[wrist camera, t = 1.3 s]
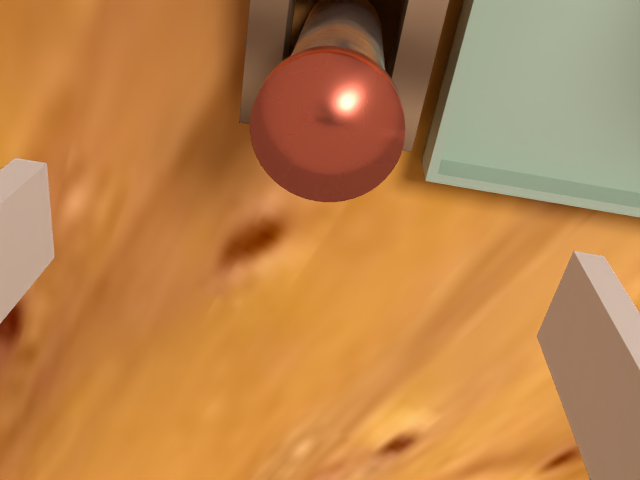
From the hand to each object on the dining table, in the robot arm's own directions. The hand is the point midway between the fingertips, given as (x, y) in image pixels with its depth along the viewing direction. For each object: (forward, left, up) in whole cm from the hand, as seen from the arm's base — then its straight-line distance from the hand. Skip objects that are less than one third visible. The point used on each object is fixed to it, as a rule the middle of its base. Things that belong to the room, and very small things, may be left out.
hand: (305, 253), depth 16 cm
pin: (0, 0, -24) cm, 24 cm away
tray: (0, +15, -24) cm, 28 cm away
